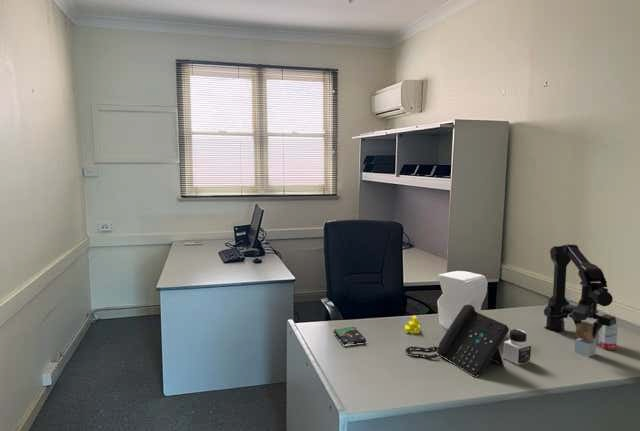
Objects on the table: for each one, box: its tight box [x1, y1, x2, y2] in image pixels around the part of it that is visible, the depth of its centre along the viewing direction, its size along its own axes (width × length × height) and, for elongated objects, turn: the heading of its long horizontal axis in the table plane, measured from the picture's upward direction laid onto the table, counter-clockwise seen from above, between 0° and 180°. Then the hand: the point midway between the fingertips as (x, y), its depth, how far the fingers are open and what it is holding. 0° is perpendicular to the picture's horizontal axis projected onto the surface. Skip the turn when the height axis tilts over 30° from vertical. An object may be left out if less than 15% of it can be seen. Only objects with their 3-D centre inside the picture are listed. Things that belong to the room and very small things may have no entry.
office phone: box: [404, 305, 510, 376], centre depth 170 cm, size 29×28×20 cm
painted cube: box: [574, 337, 597, 358], centre depth 177 cm, size 6×6×6 cm
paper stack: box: [435, 270, 489, 330], centre depth 204 cm, size 21×27×26 cm
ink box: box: [594, 322, 619, 351], centre depth 184 cm, size 9×5×12 cm, turn 168°
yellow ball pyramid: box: [403, 315, 421, 333], centre depth 199 cm, size 6×8×8 cm
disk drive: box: [333, 326, 367, 345], centre depth 191 cm, size 10×3×15 cm
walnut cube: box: [575, 320, 597, 341], centre depth 176 cm, size 6×6×6 cm
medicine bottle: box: [502, 328, 532, 366], centre depth 170 cm, size 7×7×12 cm
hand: (586, 335), depth 177 cm, fingers closed on walnut cube, 5 cm apart
